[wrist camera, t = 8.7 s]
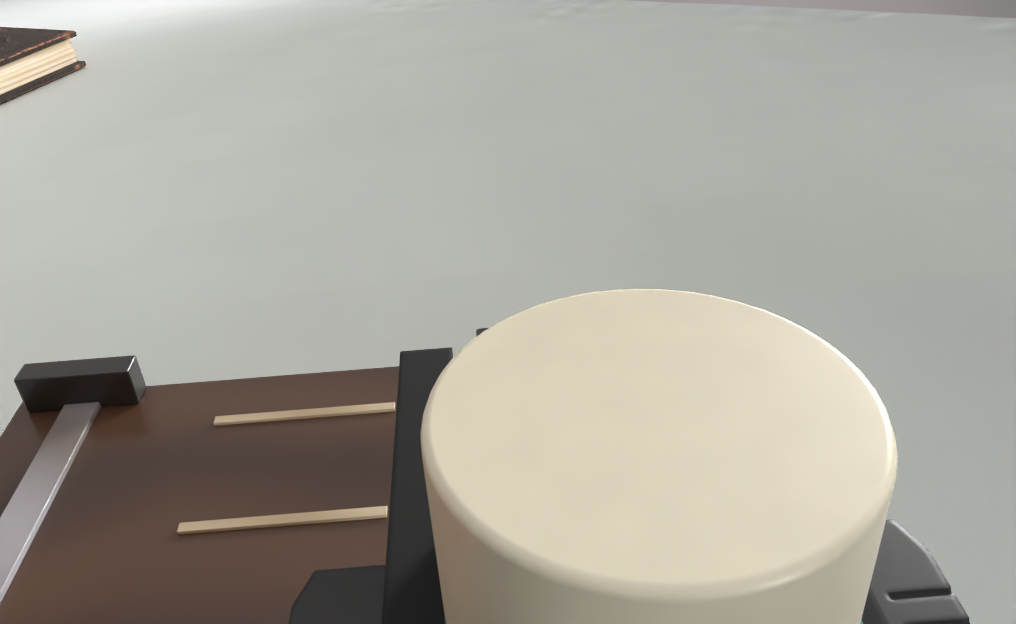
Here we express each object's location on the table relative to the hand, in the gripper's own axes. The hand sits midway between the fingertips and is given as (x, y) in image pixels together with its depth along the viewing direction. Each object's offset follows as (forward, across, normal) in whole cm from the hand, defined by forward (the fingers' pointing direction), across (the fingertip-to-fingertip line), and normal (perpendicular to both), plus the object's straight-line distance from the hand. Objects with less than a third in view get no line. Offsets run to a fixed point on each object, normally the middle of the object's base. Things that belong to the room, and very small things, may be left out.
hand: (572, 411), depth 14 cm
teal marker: (-5, 0, -6) cm, 8 cm away
